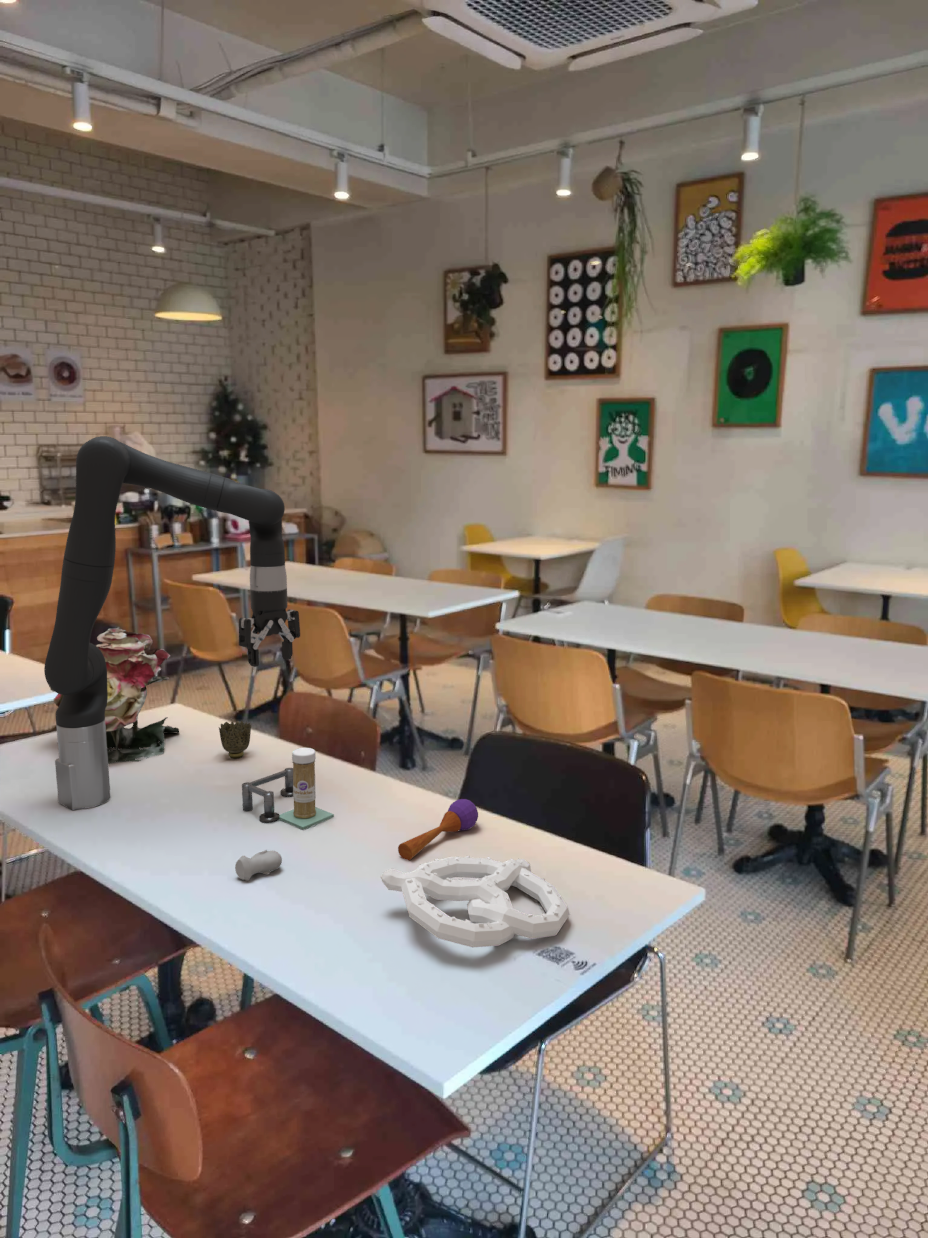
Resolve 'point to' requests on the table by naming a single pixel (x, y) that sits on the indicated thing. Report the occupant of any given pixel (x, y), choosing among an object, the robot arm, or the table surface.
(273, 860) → the grey figurine
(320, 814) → the pad
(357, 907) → the table surface
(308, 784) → the sprinkles bottle
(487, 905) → the pretzel
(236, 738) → the dark brown scalloped piece
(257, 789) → the grey jointed rod frame
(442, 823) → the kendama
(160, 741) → the rose bouquet
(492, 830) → the table surface
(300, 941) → the table surface
